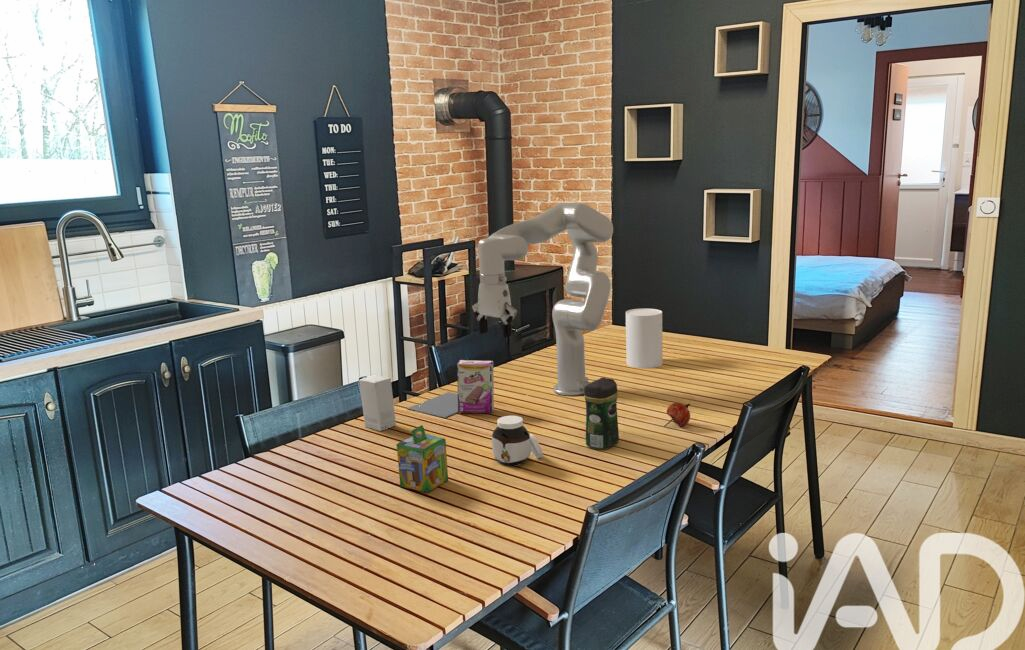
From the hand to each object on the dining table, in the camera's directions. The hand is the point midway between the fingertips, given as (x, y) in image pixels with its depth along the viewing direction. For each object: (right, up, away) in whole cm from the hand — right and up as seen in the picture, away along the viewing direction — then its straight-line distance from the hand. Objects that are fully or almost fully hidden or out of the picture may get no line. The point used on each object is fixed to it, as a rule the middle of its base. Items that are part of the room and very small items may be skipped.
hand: (495, 334), depth 236 cm
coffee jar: (+30, -31, -21) cm, 48 cm away
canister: (+56, -12, +58) cm, 81 cm away
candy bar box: (-6, -25, +12) cm, 28 cm away
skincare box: (-36, -29, +2) cm, 46 cm away
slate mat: (-17, -24, +19) cm, 35 cm away
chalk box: (-17, -37, -41) cm, 58 cm away
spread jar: (+7, -33, -29) cm, 45 cm away
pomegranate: (+54, -27, -9) cm, 61 cm away
